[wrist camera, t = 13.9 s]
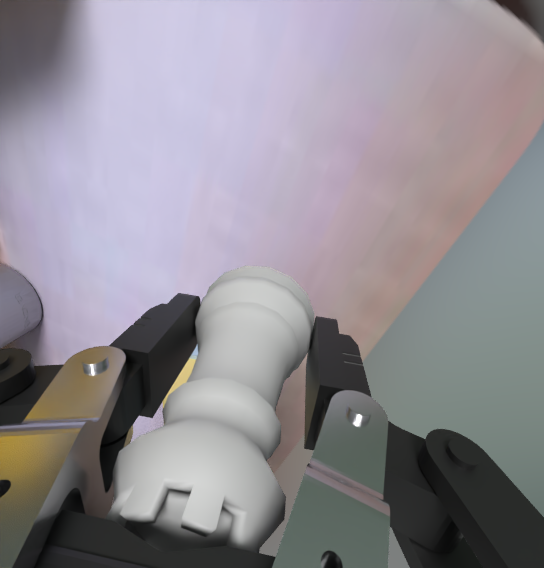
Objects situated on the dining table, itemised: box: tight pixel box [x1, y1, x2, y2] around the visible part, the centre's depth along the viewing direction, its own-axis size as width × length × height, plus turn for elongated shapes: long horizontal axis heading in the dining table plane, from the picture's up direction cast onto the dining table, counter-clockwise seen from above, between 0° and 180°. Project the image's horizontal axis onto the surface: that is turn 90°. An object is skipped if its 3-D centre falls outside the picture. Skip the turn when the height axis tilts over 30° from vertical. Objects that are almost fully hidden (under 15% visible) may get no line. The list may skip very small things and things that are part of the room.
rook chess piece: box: [105, 266, 314, 553], centre depth 8 cm, size 4×4×8 cm
